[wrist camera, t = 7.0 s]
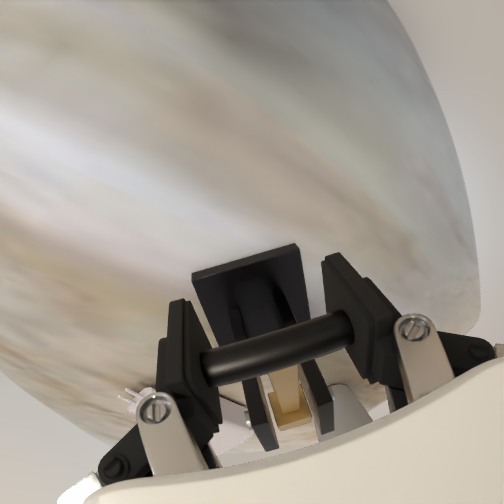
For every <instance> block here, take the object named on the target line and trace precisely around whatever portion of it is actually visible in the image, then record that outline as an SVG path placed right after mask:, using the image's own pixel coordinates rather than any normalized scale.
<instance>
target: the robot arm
mask: <svg viewBox="0 0 504 504" xmlns="http://www.w3.org/2000/svg"><path fill="white" fill-rule="evenodd" d="M321 266H322V275H323V284H324V293H325V303H326V313H327V314H328V313H331V312H334V311H337V310H340V309H342V310H344V311H345V312H346V314H347V315H348V317H349V319H350V321H351V324H352V327H353V331H354V337H355V340H354V344H353V345H351V346H348V347H346V348H345V349H346V351H347V352H348V354H349V356H350V358H351V359H352V361H353V363H354V365H355V366H356V368H357V370H358V372H359V374H360V375H361V377H362V378H363V379H366V378H367V379H368V381H369V382H370V384H374V383H376V382H379V383H380V384H382V385H385V389H386V394H387V399H388V405H389V410H390V414H389V415H386V416H384V417H382V418H380V419H378V420H375V421H373V422H371V423H369V424H366V425H364V426H362V427H359V428H357V429H354V430H352V431H349V432H347V433H344V434H342V435H339V436H336V437H334V438H331V439H328V440H325V441H323V442H320V443H317V444H314V445H311V446H308V447H304V448H301V449H298V450H295V451H291V452H288V453H284V454H281V455H277V456H273V457H270V458H265V459H262V460H257V461H253V462H248V463H244V464H239V465H234V466H229V467H222V465H221V463H220V462H219V460H218V458H217V456H216V454H215V452H214V450H213V448H212V446H211V444H210V442H209V441H210V440H211V439H212V438H213V437H214V435H213V434H214V433H219V432H220V431H219V424H223V418H222V412H221V405H220V398H219V390H218V387H215V388H210V387H209V385H208V384H207V382H206V380H205V377H204V375H203V371H202V368H201V363H200V353H201V352H202V351H205V350H209V349H212V347H211V345H210V342H209V340H208V338H207V336H206V334H205V332H204V330H203V327H202V325H201V323H200V321H199V319H198V317H197V314H196V312H195V310H194V308H193V305H192V303H191V301H185V299H184V298H183V299H179V300H175V301H172V302H170V304H169V315H168V330H167V337H166V338H162V339H160V340H159V346H158V359H157V374H156V392H155V393H152V394H149V395H147V396H146V397H144V398H143V399H142V400H141V401H140V402H139V404H138V406H137V408H136V420H137V424H136V425H135V426H134V427H133V428H132V429H131V430H130V431H129V432H128V433H127V434H126V435H125V436H124V437H123V438H122V439H121V440H120V441H119V442H118V443H117V444H116V445H115V446H114V447H113V448H112V449H111V450H110V451H109V452H108V453H107V454H106V455H105V456H104V457H103V458H102V459H101V461H100V463H99V466H98V472H96V473H94V472H91V473H90V474H88V475H87V476H86V477H85V478H84V479H82V480H81V481H79V482H78V483H77V484H75V485H74V486H73V487H71V488H70V489H69V490H67V491H66V492H64V493H63V494H62V495H61V496H60V498H59V499H58V502H57V504H504V344H495V346H494V347H492V345H491V344H490V343H489V342H487V341H486V340H484V339H481V338H477V337H470V336H464V335H458V334H452V333H446V332H440V331H436V329H435V326H434V324H433V323H432V321H431V320H430V319H429V318H427V317H426V316H423V315H421V314H415V313H414V314H407V315H404V316H402V315H401V314H400V313H399V312H398V311H397V309H396V308H395V307H394V306H393V305H392V304H391V302H390V301H389V300H388V299H387V298H386V297H385V296H384V294H383V293H382V292H381V291H380V290H379V289H378V288H377V286H376V285H375V284H374V283H373V282H372V281H371V280H370V279H369V278H367V277H365V278H362V277H361V276H360V275H359V274H358V272H357V271H356V270H355V269H354V268H353V267H352V266H351V265H350V263H349V262H348V261H347V260H346V259H345V258H344V257H343V256H342V255H341V253H339V252H337V253H334V254H331V255H328V256H326V257H325V260H324V261H322V262H321Z"/></svg>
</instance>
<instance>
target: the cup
mask: <svg viewBox="0 0 504 504" xmlns="http://www.w3.org/2000/svg"><path fill="white" fill-rule="evenodd" d="M331 388H332V390H333V392H334V395H335V399H336V403H335V404H334V426H335V430H334V431H332V432H329V433H326V434H323V435H321V433H320V430H319V428H318V425H317V423H316V420H315V417H314V415H313V417H314V422H315V427H316V432H317V436H318V440H319V443H320V442H323V441H325V440H328V439H331V438H334V437H336V436H339V435H342V434H344V433H347V432H349V431H352V430H354V429H357V428H359V427H362V426H364V425H366V424H369V423H371V422H373V420H372V419H371V417H370V416H369V414H368V413H367V411H366V410H365V408H364V407H363V406H362V404H361V403H360V402H359V400H358V399H357V398H356V396H355V395H354V394H353V393H352V391H351V390H350V389H349V387H348V386H346V385H343V384H337V385H332V386H331Z"/></svg>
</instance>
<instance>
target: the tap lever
mask: <svg viewBox="0 0 504 504" xmlns="http://www.w3.org/2000/svg"><path fill="white" fill-rule="evenodd" d="M354 340H355V337H354V331H353V327H352V324H351V321H350V319H349V317H348V315H347V314H346V312H345V311H344V310H342V309H340V310H337V311H334V312H331V313H328V314H325V315H323V316H320V317H317V318H314V319H311V320H308V321H305V322H302V323H299V324H296V325H292V326H289V327H286V328H283V329H280V330H277V331H273V332H270V333H267V334H263V335H260V336H257V337H253V338H250V339H246V340H243V341H239V342H235V343H232V344H228V345H224V346H221V347H217V348H213V349H209V350H205V351H202V352H201V353H200V363H201V368H202V371H203V375H204V377H205V380H206V382H207V384H208V385H209V387H210V388H215V387H220V386H224V385H228V384H232V383H236V382H240V381H243V380H247V379H251V378H254V377H258V376H262V375H265V374H268V375H269V378H270V381H271V383H272V386H273V389H274V391H275V392H271V393H268V397H269V400H270V403H271V407H272V410H273V413H274V417H275V420H276V423H277V426H278V428H279V429H280V431H283V430H287V429H290V428H294V427H297V426H300V425H303V424H306V423H309V422H311V417H312V415H311V412H310V409H309V406H308V403H307V401H306V398H305V395H304V392H303V389H302V386H301V384H299V375H298V364H301V363H304V362H307V361H310V360H313V359H315V358H318V357H321V356H324V355H327V354H330V353H332V352H335V351H338V350H340V349H343V348H346V347H348V346H351V345H353V344H354Z"/></svg>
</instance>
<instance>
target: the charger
mask: <svg viewBox="0 0 504 504" xmlns="http://www.w3.org/2000/svg"><path fill="white" fill-rule="evenodd" d="M125 391H126V392H128V393H130V394H132V395H134V396H135V397H134V399H133V400H130V399H128V398H126V397H124V396H122V395H118V398H120V399H122V400H124V401H126V402H128V403H130V405H129V407H128V409H127V410H128V412H130V413H132V414H134V415H136V408H137V406H138V404H139V402H140V401H141V400H142V399H143V398H144V397H146V396H147V395H149V394H152V393H155V392H156V390H155V389H153V388H151V387H148V388H144V389H143V390H142V391H141V392H139V393H137V392H135V391H133V390H131V389H129V388H126V389H125ZM219 398H220V405H221V412H222V418H223V424H219V431H220V432H219V433H214V434H213V435H214V437H213V438H212V439H211V440H210V441H209V442H210V444H211V446H212V448H213V450H214V452H215V454H216V456H218V455H220V454H222V453H224V452H226V451H227V450H229V449H231V448H233V447H235V446H237V445H239V444H241V443H243V442H244V441H246V440H248V439H249V438H250V437H251V436H252V435H253V433H254V430H253V429H252V430H249V428H248V426H247V424H246V420H245V416H244V411H248V409H247V408H246V407H243V406H241V405H238V404H236V403H233V402H231V401H229V400H226V399H224V398H222V397H219Z"/></svg>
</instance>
